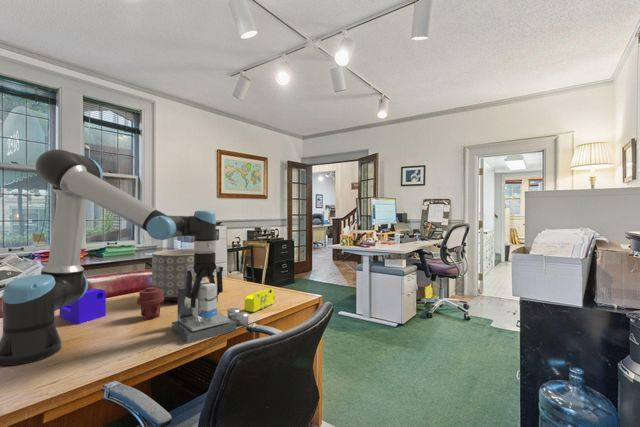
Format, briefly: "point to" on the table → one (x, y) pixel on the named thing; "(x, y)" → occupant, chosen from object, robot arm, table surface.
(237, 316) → the cylinder
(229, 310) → the cylinder
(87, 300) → the bracket
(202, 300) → the ink box
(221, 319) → the scale pan
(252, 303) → the yellow toy chassis
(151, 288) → the mechanical component
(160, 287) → the planter
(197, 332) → the base
